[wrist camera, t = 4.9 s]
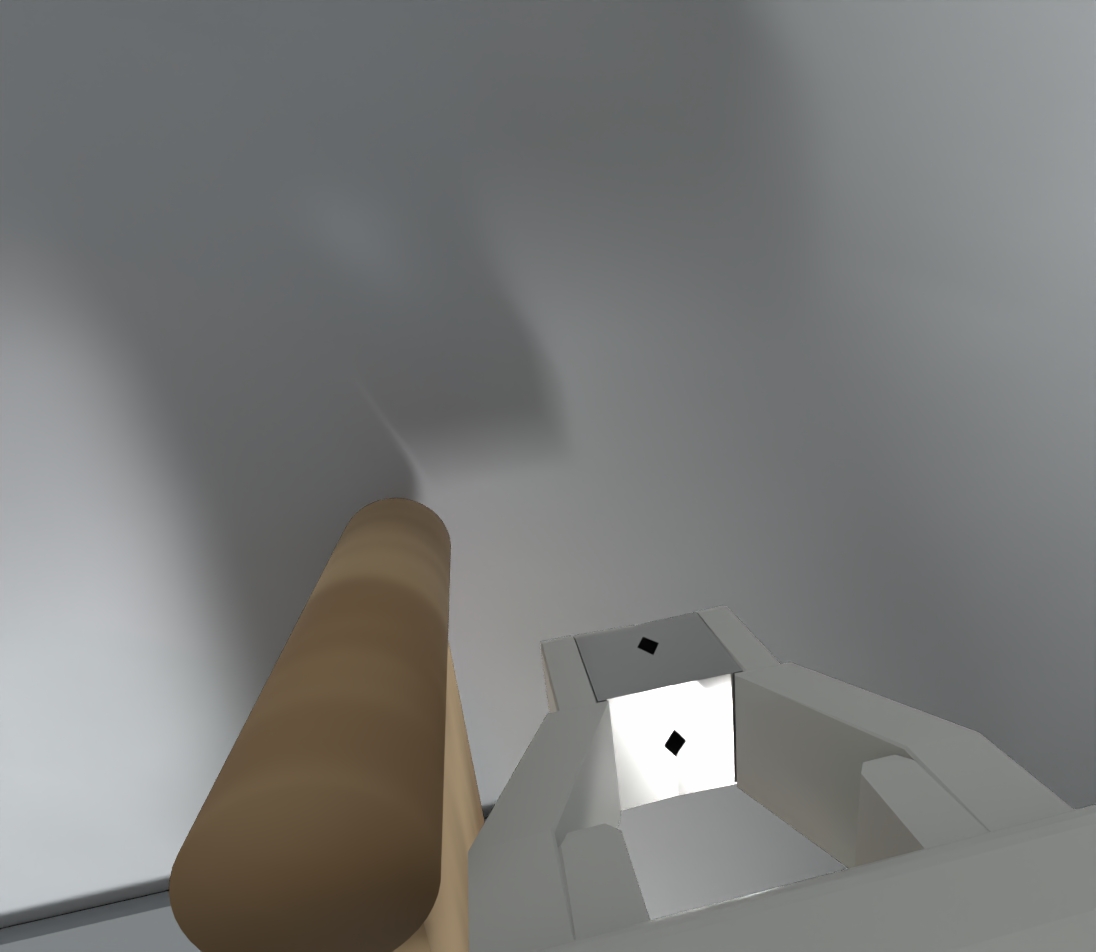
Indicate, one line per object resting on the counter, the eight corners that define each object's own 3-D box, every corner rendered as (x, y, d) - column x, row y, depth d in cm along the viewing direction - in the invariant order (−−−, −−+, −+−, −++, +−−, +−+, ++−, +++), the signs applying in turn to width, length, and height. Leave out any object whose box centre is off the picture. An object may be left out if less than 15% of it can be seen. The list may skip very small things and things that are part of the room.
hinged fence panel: (526, 951, 14) (580, 1452, 8) (447, 971, 14) (438, 1502, 8) (440, 490, 10) (416, 757, 4) (329, 508, 10) (129, 819, 4)
